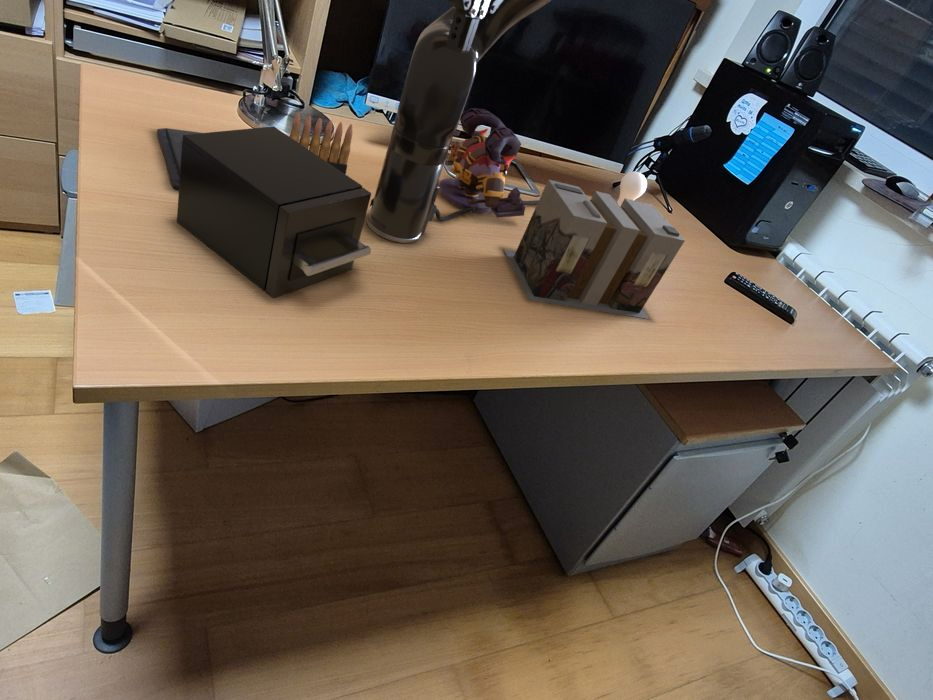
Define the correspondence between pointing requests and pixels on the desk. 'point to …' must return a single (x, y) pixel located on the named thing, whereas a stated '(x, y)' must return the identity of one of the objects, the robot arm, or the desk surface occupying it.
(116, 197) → the desk surface
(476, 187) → the figurine
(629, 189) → the lightbulb
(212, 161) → the oven
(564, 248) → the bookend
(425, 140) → the robot arm
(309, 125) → the ammunition clip
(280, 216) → the oven door
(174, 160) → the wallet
